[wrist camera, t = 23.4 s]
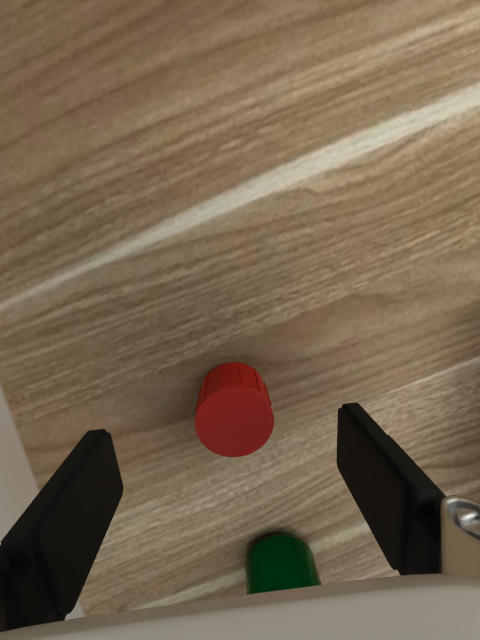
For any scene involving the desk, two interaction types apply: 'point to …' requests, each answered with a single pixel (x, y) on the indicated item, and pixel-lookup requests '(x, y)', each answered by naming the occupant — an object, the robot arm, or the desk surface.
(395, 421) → the desk surface
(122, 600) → the desk surface
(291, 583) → the soda can
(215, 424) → the cap
